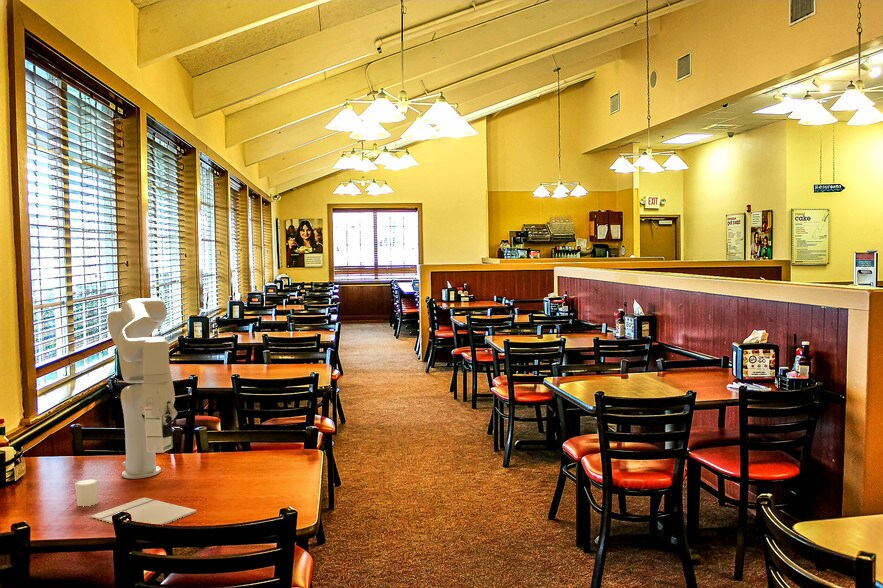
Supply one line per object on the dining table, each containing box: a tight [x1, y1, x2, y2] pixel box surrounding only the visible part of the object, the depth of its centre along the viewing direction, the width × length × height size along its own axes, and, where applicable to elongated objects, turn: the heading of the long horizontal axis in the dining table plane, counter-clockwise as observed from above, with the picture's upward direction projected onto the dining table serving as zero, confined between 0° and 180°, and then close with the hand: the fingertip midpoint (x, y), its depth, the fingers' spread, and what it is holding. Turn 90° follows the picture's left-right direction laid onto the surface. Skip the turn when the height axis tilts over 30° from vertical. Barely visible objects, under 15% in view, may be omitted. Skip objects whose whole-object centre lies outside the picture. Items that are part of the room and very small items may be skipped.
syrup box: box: [144, 406, 174, 454], centre depth 224 cm, size 6×6×14 cm
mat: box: [90, 496, 197, 525], centre depth 210 cm, size 24×18×1 cm
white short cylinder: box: [74, 478, 100, 508], centre depth 220 cm, size 7×7×7 cm
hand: (158, 435), depth 224 cm, fingers closed on syrup box, 7 cm apart
